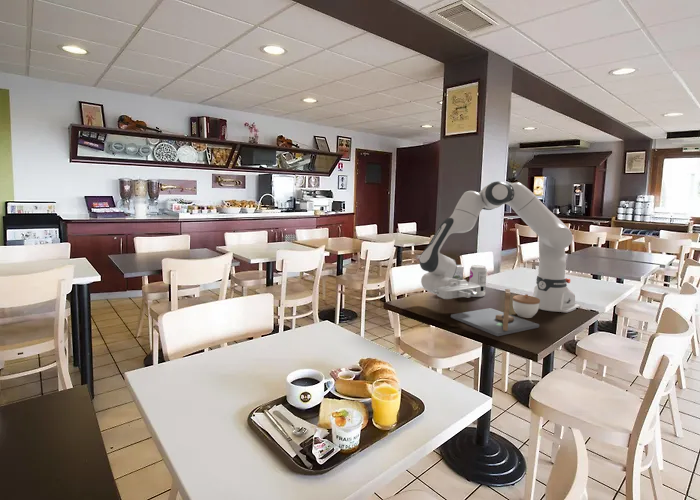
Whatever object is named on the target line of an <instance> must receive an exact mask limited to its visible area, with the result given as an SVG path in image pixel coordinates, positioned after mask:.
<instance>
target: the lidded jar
mask: <svg viewBox="0 0 700 500" xmlns="http://www.w3.org/2000/svg"><path fill="white" fill-rule="evenodd" d="M539 303H540V299H538V298H536V297H533V295H529V294H527V293H526V294H525V295H523V294H520V295H519V294H518V295H514V296H513V297H512V308H513V311H514V312H515V314H517V317H519V318H523V319H525V318H526V319H531V318H533V317H534V316H536V314H538V311H539V310H540V309H539Z"/></svg>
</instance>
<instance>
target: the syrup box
mask: <svg viewBox="0 0 700 500" xmlns="http://www.w3.org/2000/svg"><path fill="white" fill-rule="evenodd" d="M456 265H457V269H456V273H455V275H454V277H453V279H464V266H463V265H462V264H456Z"/></svg>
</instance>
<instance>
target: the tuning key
mask: <svg viewBox="0 0 700 500" xmlns="http://www.w3.org/2000/svg"><path fill="white" fill-rule="evenodd" d="M504 291H505V292H504V303H503V304H504V305H503V312H504V316H503V317H502V315H496V319H497V320H500V321H503V330H504V331H508V322H512V321H514V317H512V316H509V314H510V303H511V289H510V288H509V289H508V288H507V289H505V290H504Z"/></svg>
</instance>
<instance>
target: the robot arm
mask: <svg viewBox="0 0 700 500" xmlns="http://www.w3.org/2000/svg"><path fill="white" fill-rule="evenodd" d="M502 205H508V206H509V207H510V208H511V209H512V210H513V211H514V212H515V214H516V215H517V216H518V217H519V218H520V219H521V220H522V221H523V222H524V223H525V224H526V225H527V226H528V227H529V228H530V229H531V230H532V231H533V233H535V234H536V235H537V237H538V256H539V257H538V261H539V263H538V273H537V276H536V280H535V281H536V282H535V283H536V285H535V286H534V289H533V295H532V297H536V298H538V299H540V303H539V309H538V310H542V311H546V312H547V311H548V312H559V313H560V312H561V313H570V312H573V311H575V310H577V309H576V308H578V309H580V308H581V304H578V303H576V296H575V293H574V292H573V291H571V289H570V288H569V287H568V285H567V284H570V283H571V278H566V268H567V259H566V250H565V249H566V248H568V247H569V246H570V245H571V244H572V242H573V239H574V238H573V237H574V236H573V233H572V231H571V230H570V228H569V227H568V226H567V225H566V224H565V223H564V222H563V221H562V220H561V219H559V217H558V216H557V215H555V214H554V213H553V212H552V211H551V210H550V209H549V208H548V207H547V206H546V205H545V204H544V203H543V202H542V201H541V199H540V198H538V197H537V196H536V194H534V192H532V190H531V189H529V188H528V187H527V186H525V185H524V184H523V183H521V182H513V183H511V184H509V183H505V182H503V181H493V182H491V183H489V184H487V185H486V186H484V187H483V188H482V189H481V190H480V191H475V190H468V191H465V192H463V194H462V195H461V197H460V198H459V199H458V202H457V204H456V205H455V207H454V210H453V212H452V213H451V215H450V216H449V217H447V218H445V219H444V220H443V221H442V222H441V224H440V225H439V226H438V228H437V230H436V231H435V233H434V235H433V236H432V238H431V240H430V241H429V242H428V245H427V246H426V247H425V249H424V250H423V251H422V253H420V256H419V258H418V259H419V261H418V262H419V266H420V268H421V269H422V271H426V273H425V274H423V275H422V277H421V281H420V283H421V286H422V288H423V289H424V290H426V291H427V292H428V293H431V294H433V295H436V296H437V297H439V298H440V299H443V300H453V299H458V298H468V299H469V298H471V297H473V298H475V296H477V294H480V292H481V287H480V285H477V284H475V283H471V282H469V281H467V279H464V278H463V279H453V277H454V275H455V273H456V269H457V265H458V264H457V262H456V260H455V259H453V258H451V257H449V256H447V255H444V254H443V253H441V249H442V247H443V245H444V244H445V243H446V240H447V239H448V238H449V237H450V235H452V234H464V233H468V232H469V231H471V230H472V229H473V228H474V227H475V226H476V223H477V220H478V218H479V216H480V213H481V212H482V210H485V211H490V210H495V209H497V208H499V207H501V206H502Z"/></svg>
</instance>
